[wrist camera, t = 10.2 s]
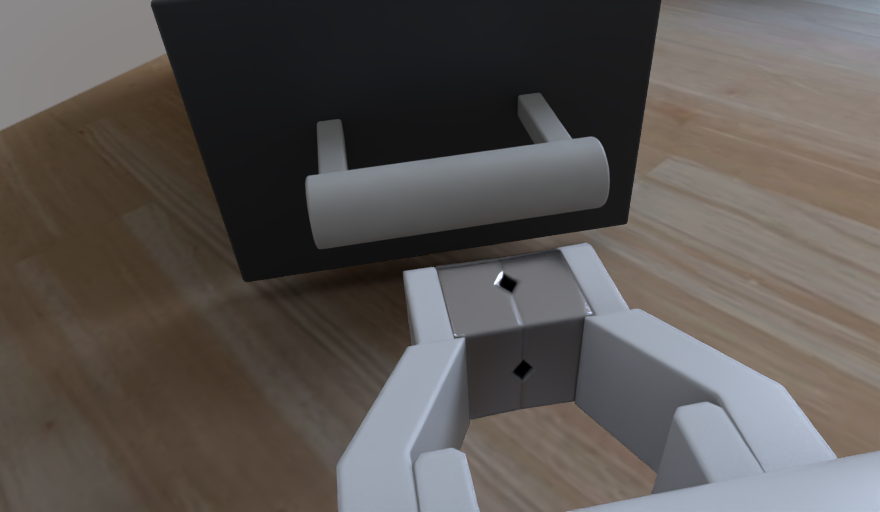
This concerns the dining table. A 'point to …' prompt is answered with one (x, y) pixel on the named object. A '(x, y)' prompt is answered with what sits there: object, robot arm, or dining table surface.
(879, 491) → the robot arm
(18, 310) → the dining table surface
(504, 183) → the drawer
